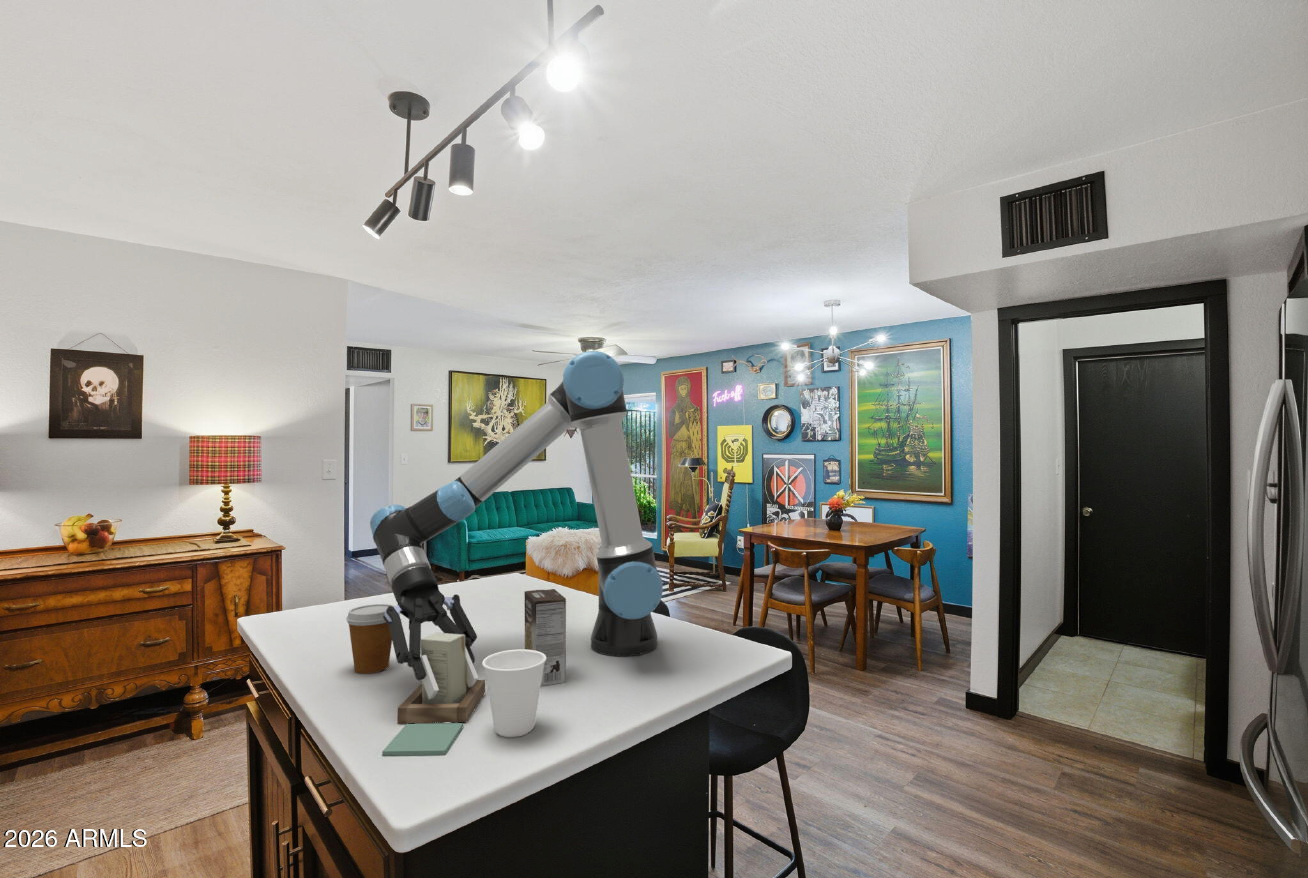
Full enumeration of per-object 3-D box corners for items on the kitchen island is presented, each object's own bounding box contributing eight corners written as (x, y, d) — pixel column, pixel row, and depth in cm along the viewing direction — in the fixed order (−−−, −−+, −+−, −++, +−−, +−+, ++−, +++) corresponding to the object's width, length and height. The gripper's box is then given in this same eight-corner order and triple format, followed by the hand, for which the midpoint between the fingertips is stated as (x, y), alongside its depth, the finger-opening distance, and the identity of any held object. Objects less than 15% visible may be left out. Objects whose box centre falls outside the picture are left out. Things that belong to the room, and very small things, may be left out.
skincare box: (467, 705, 105) (467, 634, 106) (451, 715, 101) (451, 641, 101) (436, 700, 107) (437, 630, 108) (419, 710, 103) (420, 637, 104)
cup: (488, 717, 100) (488, 649, 101) (549, 714, 101) (549, 648, 102) (475, 745, 91) (476, 671, 91) (543, 742, 91) (543, 668, 92)
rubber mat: (463, 726, 97) (463, 723, 97) (445, 754, 88) (445, 750, 88) (406, 727, 97) (406, 723, 97) (382, 755, 88) (382, 751, 88)
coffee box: (523, 671, 121) (523, 590, 122) (555, 667, 124) (555, 587, 124) (533, 687, 113) (533, 600, 114) (566, 682, 116) (566, 597, 116)
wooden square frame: (485, 693, 110) (485, 679, 110) (466, 722, 98) (466, 707, 98) (424, 694, 110) (424, 680, 110) (397, 723, 98) (397, 707, 98)
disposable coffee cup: (377, 678, 118) (378, 616, 119) (334, 675, 120) (335, 613, 120) (406, 662, 127) (407, 604, 128) (366, 659, 129) (367, 602, 130)
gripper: (452, 581, 122) (496, 684, 111) (351, 598, 108) (389, 718, 97) (466, 558, 119) (513, 661, 107) (363, 572, 105) (404, 693, 93)
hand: (454, 688), depth 102 cm, fingers open, 6 cm apart
